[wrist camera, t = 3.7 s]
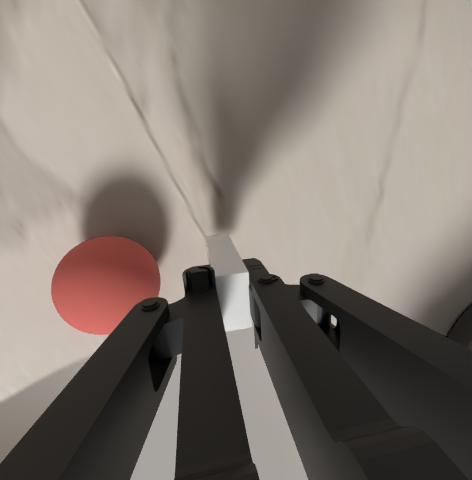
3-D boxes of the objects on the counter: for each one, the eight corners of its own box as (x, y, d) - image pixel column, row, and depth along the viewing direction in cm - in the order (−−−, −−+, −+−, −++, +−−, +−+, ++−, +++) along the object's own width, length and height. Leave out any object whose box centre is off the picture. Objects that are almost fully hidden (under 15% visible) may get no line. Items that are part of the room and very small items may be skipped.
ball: (175, 242, 19) (166, 272, 13) (152, 311, 20) (134, 367, 14) (91, 215, 17) (39, 236, 12) (70, 291, 19) (14, 344, 13)
